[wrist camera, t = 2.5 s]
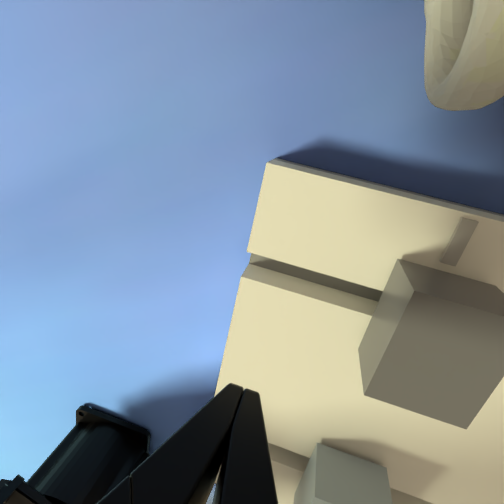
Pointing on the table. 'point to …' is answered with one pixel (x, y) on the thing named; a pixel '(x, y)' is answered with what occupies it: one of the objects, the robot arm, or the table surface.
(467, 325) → the block
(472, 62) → the teacup
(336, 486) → the block
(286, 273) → the console
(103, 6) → the table surface
